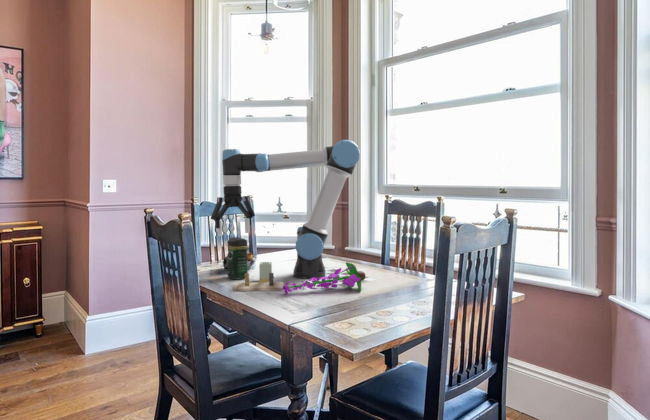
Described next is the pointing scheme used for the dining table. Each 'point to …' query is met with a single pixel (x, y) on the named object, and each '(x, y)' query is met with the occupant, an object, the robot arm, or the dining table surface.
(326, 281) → the purple and green stem
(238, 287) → the pin board
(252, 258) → the lucky cat figurine
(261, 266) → the sleeve
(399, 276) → the dining table surface
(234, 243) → the coffee jar
